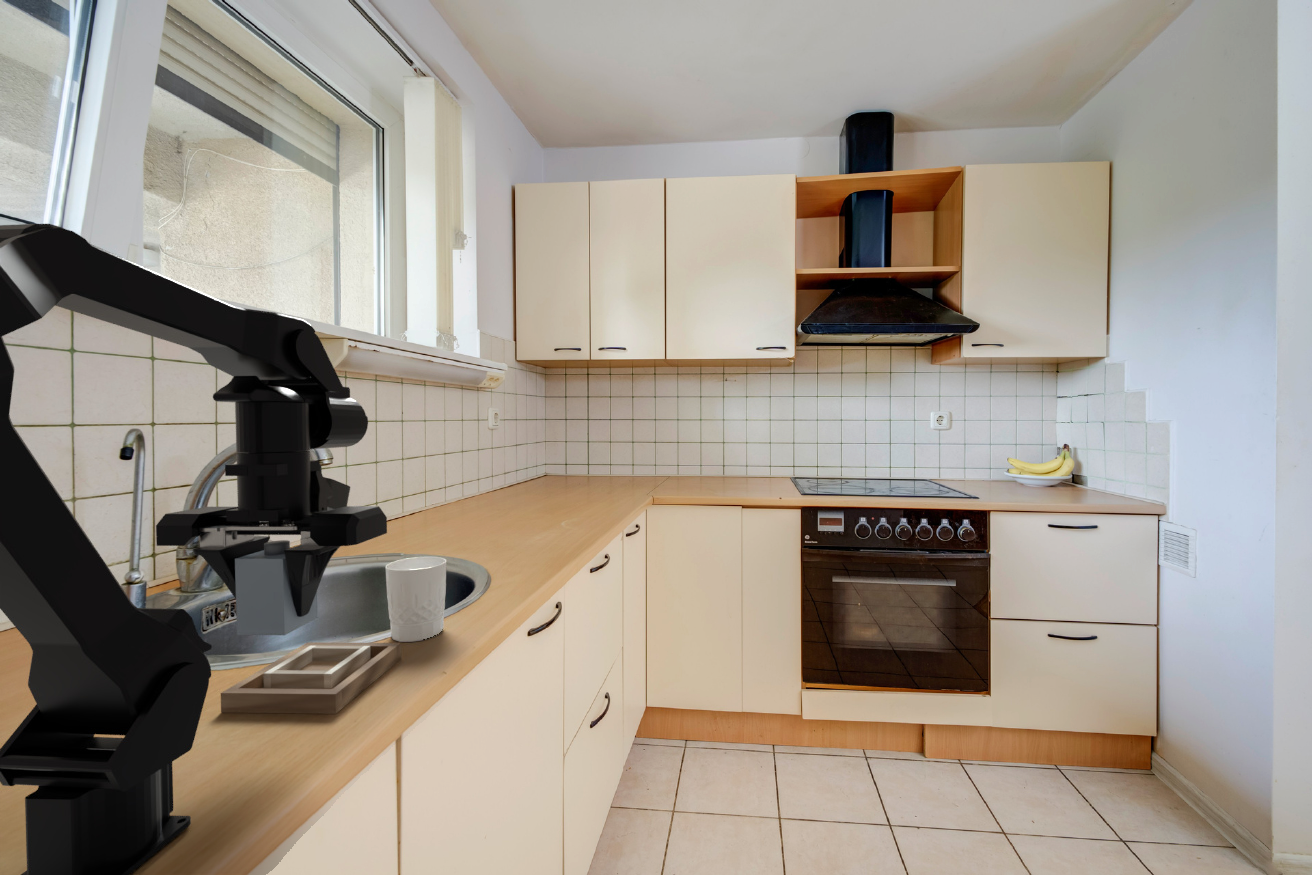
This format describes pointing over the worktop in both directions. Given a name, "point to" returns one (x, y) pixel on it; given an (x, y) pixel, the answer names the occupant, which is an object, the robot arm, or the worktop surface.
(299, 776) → the worktop surface
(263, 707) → the walnut box
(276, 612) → the block
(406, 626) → the white cup
